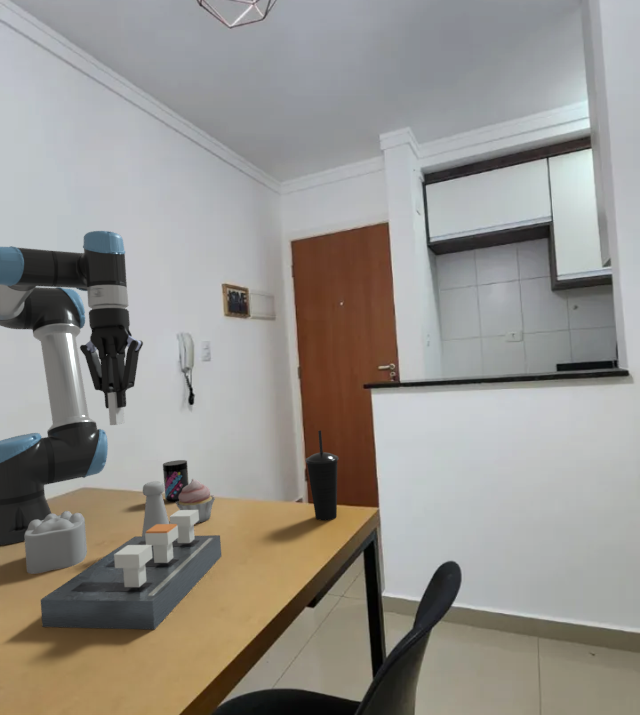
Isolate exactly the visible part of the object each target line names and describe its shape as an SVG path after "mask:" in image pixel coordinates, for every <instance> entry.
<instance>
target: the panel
mask: <svg viewBox="0 0 640 715" xmlns="http://www.w3.org/2000/svg"><path fill="white" fill-rule="evenodd" d="M194 537H195V539H194V540H193V541H192V542H190V543H178V539H176V540H174V541H173V542H172V546H173V559H171V560H170V561H169V562H168V563H154V551H153V546H152V559H150V560H149V561H148V562H147V563H145V568H146V582H145V583H144V584H142V585H141V586H140V587H125V585H124V572H123V568H115V561H114V554H116V553H117V552H119V551H120V550H121V549H123V548H124V547H126V546H127V545H146V539H145V536H142V535H141V536H140V535H139V536H136V535H135V536H133V537H131V538H130V539H128V540H127V541H126V542H124V543H123V544H121V545H119V546H118V547H117V548H115V549H114V550H112V551H111V552H109V553H108V554H106V555H104V556H103V557H102V558H100V559H99V560H98V561H96V562H94V563H93V564H92V565H90V566H88V567H87V568H85V569H84V570H82V571H81V572H79V573H78V574H76V575H74V576H73V577H72V578H70V579H69V580H67V581H66V582H65V583H63V584H62V585H60V586H59V587H57V588H56V589H54V590H53V591H52V592H50V593H48V594H47V595H45V596H44V597H42V598H40V612H41V624H42V625H41V626H42V627H43V628H72V629H73V628H76V629H77V628H78V629H79V628H81V629H83V628H84V629H120V630H121V629H123V630H125V629H126V630H156V629H157V628H158V626H159V625H161V623H162V622H163V621H164V620H165V619H166V618H167V617H168V615H169V614H171V612H172V611H173V610H174V609H175V608H176V607H177V606H178V605H179V603H181V601H182V600H183V599H184V598H185V596H186V595H188V593H189V592H191V590H192V589H193V588H194V587H195V586H196V585H197V584H198V583H199V582H200V581H201V579H202V578H203V577H204V576H205V575H206V574H207V573H208V572H209V571H210V570H211V568H212V567H213V566H215V564H216V563H217V562H218V560H219V559H221V557H222V546H221V542H222V541H221V535H219V534H218V535H215V534H214V535H213V534H212V535H194Z"/></svg>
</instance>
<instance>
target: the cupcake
mask: <svg viewBox="0 0 640 715" xmlns="http://www.w3.org/2000/svg"><path fill="white" fill-rule="evenodd" d="M215 499H216V497H214V495H212V494H211V490H210V488H209V487H208V486H207V485H206V484H204V483H201V482H200V481H199V480H198V479H195V478H192V479H191V482H189V484H188V485H187V486H185V487H184V488H183V489H182V492H181V493H180V494H179V501H178V502H174V503H175V505H176V507H178V510H198V512H199V521H198V522H196V523H195V524H200V522H201V523H203V522H206V521H208V520H209V519H211V518H210V517H211V515H212V514H211V513H212V509H213V505H214V502H215Z"/></svg>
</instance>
